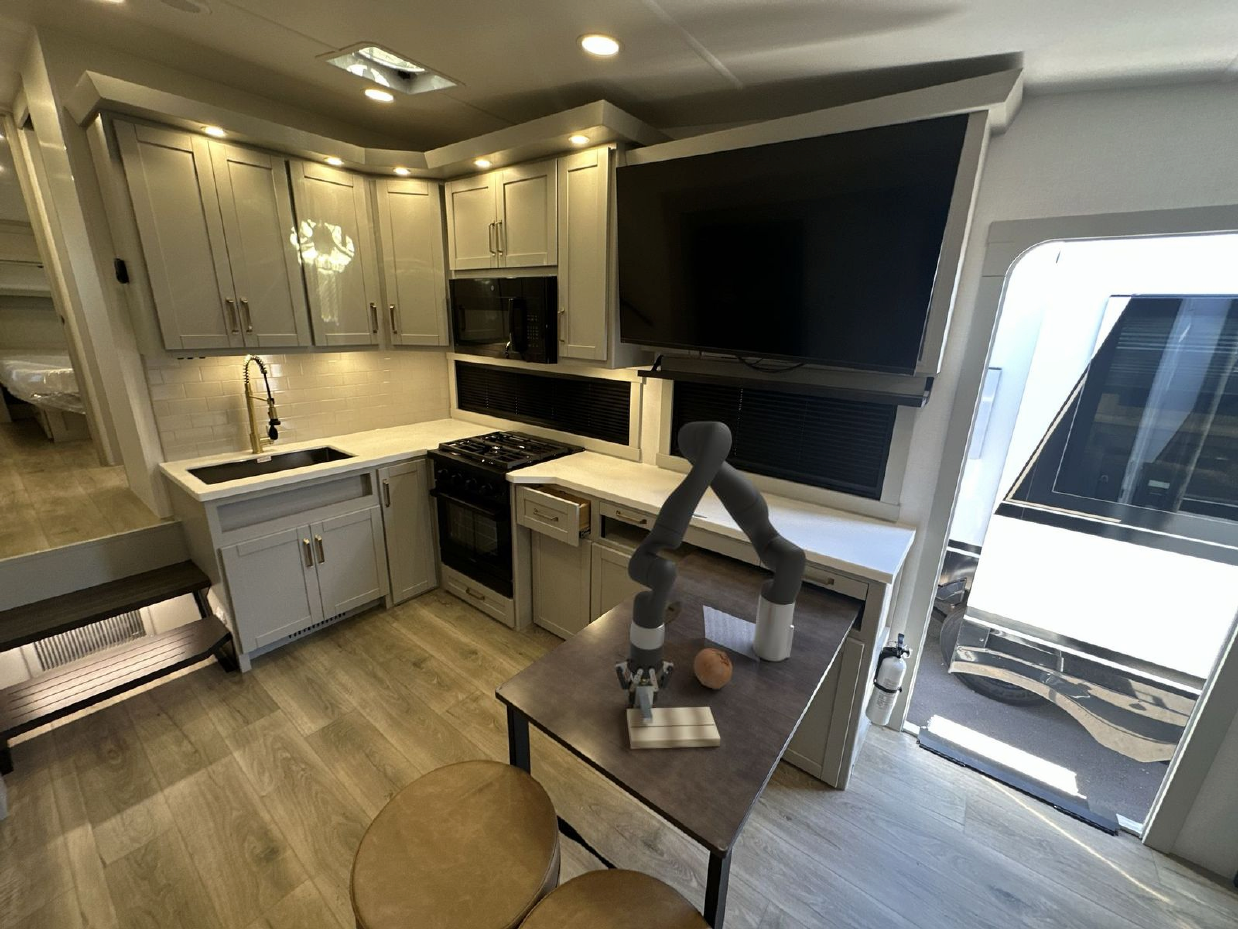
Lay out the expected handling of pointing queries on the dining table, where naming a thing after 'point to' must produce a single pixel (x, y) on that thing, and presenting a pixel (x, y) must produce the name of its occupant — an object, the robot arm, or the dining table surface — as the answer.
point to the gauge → (644, 699)
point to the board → (673, 728)
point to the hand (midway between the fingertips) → (642, 701)
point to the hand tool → (672, 611)
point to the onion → (713, 668)
